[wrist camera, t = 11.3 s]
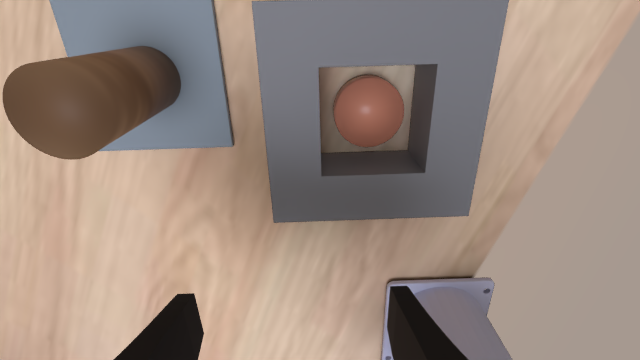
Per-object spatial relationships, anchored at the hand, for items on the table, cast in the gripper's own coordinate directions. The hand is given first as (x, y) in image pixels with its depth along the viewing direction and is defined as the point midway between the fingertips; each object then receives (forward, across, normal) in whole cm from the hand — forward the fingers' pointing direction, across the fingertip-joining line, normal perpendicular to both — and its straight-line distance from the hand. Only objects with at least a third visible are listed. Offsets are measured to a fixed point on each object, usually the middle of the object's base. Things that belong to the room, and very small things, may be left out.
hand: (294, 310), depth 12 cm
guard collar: (+10, -4, -5) cm, 12 cm away
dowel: (+10, +8, -7) cm, 15 cm away
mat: (+10, +8, -7) cm, 15 cm away
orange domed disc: (+10, -4, -5) cm, 12 cm away
